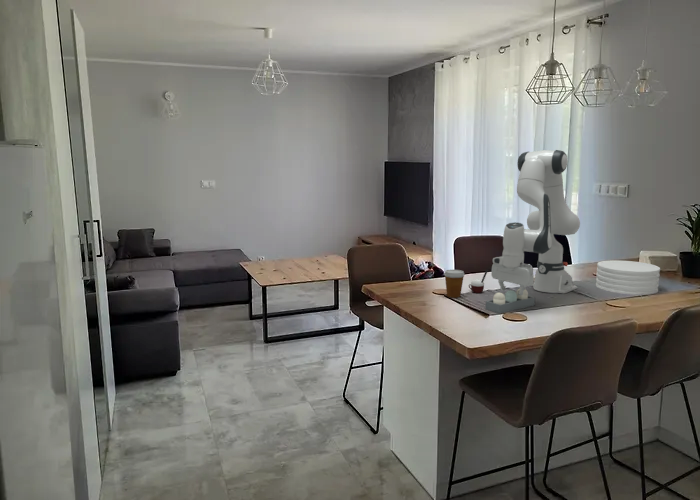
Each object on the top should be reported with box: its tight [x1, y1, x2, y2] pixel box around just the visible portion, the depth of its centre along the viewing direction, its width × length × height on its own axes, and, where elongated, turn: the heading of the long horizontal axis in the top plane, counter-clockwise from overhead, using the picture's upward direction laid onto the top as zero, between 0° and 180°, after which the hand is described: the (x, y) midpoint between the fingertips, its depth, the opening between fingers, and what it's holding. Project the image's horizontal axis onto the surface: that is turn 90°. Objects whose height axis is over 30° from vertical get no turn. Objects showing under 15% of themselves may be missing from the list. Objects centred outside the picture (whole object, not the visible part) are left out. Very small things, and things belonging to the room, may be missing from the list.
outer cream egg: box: [492, 292, 505, 305], centre depth 229 cm, size 5×5×8 cm
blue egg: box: [504, 289, 517, 302], centre depth 233 cm, size 5×5×8 cm
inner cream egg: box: [515, 287, 529, 300], centre depth 237 cm, size 5×5×8 cm
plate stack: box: [595, 259, 661, 296], centre depth 271 cm, size 28×28×12 cm
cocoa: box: [468, 268, 489, 294], centre depth 262 cm, size 10×6×12 cm, turn 30°
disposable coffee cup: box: [443, 269, 465, 299], centre depth 255 cm, size 10×10×12 cm
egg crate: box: [485, 295, 536, 314], centre depth 234 cm, size 22×8×4 cm, turn 123°
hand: (511, 292), depth 233 cm, fingers open, 8 cm apart
